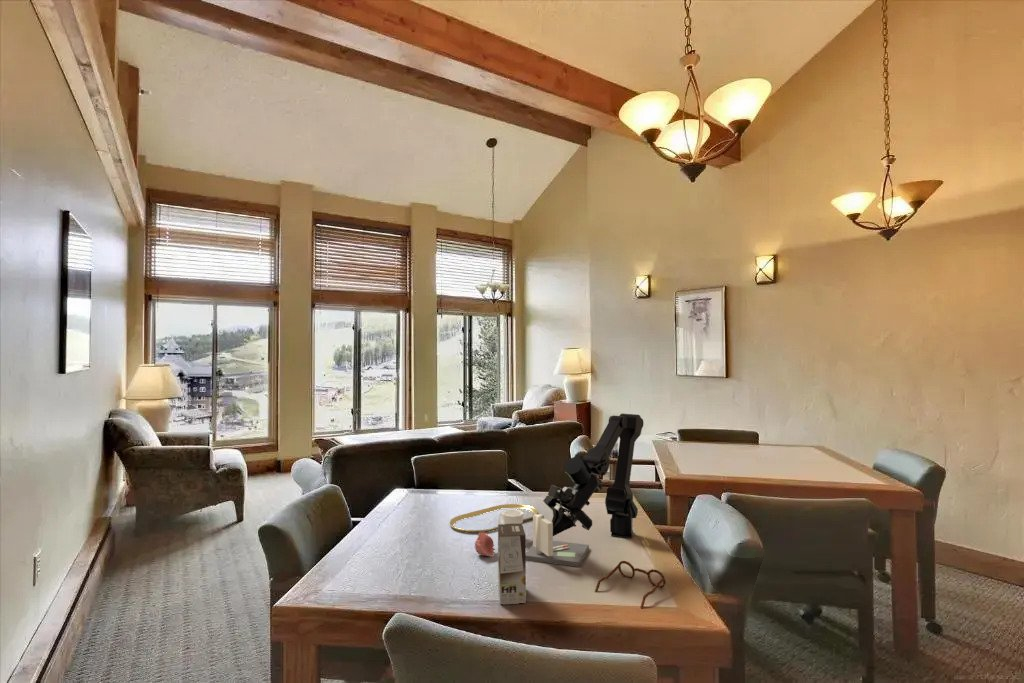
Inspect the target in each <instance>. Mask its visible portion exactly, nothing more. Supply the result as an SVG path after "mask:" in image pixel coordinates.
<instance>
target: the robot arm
mask: <svg viewBox="0 0 1024 683" xmlns="http://www.w3.org/2000/svg"><path fill="white" fill-rule="evenodd" d="M644 424H645V423H644V419H643V418H642V417H641V415H640V414H633V413H620V414H619V415H614V414H613V415H610V416H609V417H608V422H607V425H606V426H605V428H604V430H603V432H602V434H601V436H600V438H599V439H598V441H597V442H596V444H595V446H594V447H592V448H590V449H588V450H587V452H586V453H585V455H584V456H583V455H582V454H579V453H578V454H577V453H575V455H574V456H573V457H571V458H569V459H568V460H566V462H565V463H564V467H563V469H564V472H565V473H566V475H568V477H569V478H570V480H571V481H572V482H573V483H574V485H572V487H571V486H569V487H567V486H564V487H563V488H562V487H559V486H556V485H554V484H551V485H550V488H549V489H548V493H547V495H546V496H545V498H544V499H543V500H542V502H543V503H544V504H545V505H546V506H547V507H548V508H549V509H550V510H551V511H552V515H553V516H552V519H551V522H552V523H553V537H556V535H559V534H560V533H562V532H564V531H567V530H569V529H571V528H573V527H575V528H576V527H577V525H576V523H577V522H579V523H580V524H581V527H582V529H584V530H586V531H587V532H588V531H589V530H591V528H592V526H593V520H592V518H590V517H589V516H588V514H587V513H586V512H585V511H583V508H584V507H585V506H589V505H590V504H591V502H590V501H589V500H590V499H591V497H592V496H593V495H594V493H595V492H596V490H597V489H598V490H601V491H602V489H603V485H602V479H600V478H597V476H601V477H602V476H605V475H606V474H607V473H608V471H609V468H610V464H611V458H610V455H611V454H612V451H613V450H614V448H615V446H616V444H617V441H618V440H619V445H618V451H617V458H616V467H615V474H614V482H613V483H612V484H611V486H608V487H607V488H606V496H605V500H604V504H605V510H606V513H607V515H610V516H611V517H610V519H609V521H610V522H609V523H610V524H609V525H610V526H609V528H610V533H611V534H610V536H612V537H617V536H620V538H626V537H630V538H629V539H632V538H631V537H633V534H634V532H633V531H634V529H633V527H634V526H633V519H637V516H638V513H639V512H638V510H639V509H638V507H637V506H636V504H635V502H634V500H633V499H634V494H633V491H632V490H631V487H630V482H631V474H632V466H633V457H634V451H635V444H636V441H637V440H638V439H639V437H640V436H641V434H642V431H643V427H644ZM596 475H597V476H596Z"/></svg>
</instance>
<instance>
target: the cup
mask: <svg viewBox="0 0 1024 683" xmlns="http://www.w3.org/2000/svg"><path fill="white" fill-rule="evenodd" d="M524 515H525V513H524V512H523V511H522V510H520V509H506V510H504V511H503V512H501V513H500V514H499V516H498V525H499V524H502V521H503V524H520V523H522V524H523V522H524V521H523V519H524Z"/></svg>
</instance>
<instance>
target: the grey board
mask: <svg viewBox="0 0 1024 683" xmlns="http://www.w3.org/2000/svg"><path fill="white" fill-rule="evenodd" d="M566 544H567V545H568V547H564V548H558V549H553V556H547V555H546V554H544V553H543V554H538V553H536V547H534V546H533V544H532V545H531V546H530V547H529V549H528V550H527V551H526V561H533V562H538V563H539V562H540V563H547V564H555V565H561V566H562V565H564V566H571V567H579V568H580V566H581V564H582V562H583V560H584V559H585V556H586V555H587V553H588V551H589V550H590V548H589V546H590V544H585V543H578V542H567V541H559V540H553V547H557V546H562V545H566Z"/></svg>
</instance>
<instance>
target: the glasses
mask: <svg viewBox="0 0 1024 683" xmlns="http://www.w3.org/2000/svg"><path fill="white" fill-rule="evenodd" d="M622 564H625V565H628V567H629V568H630V569H631V571H632V572H631V574H632V575H630V576H629V575H626V574H625V573H624V571H622V569H621V568H622ZM616 571H618V572H619V573H620V575H621V576H622V577H623V578H626V579H629V580H631V579H634V577H635V575H636V572H638V573H642V574H645V575H647V579H648V582H649V584H650V585H652V586H653V587H652V589H651V590H650V591H647V592H646V593H645V594H644V595H642V596H643V597H642V600H641V604H640V607H639V609H640V608H641V609H643V608H644V606H645V602H646V599H647V597H649V596H650V595H653V594H654V593H655V591H657V589H663V588H665V586H666V583H667V581H666V578H665V575H664V574H663V572H661V571H660V570H657V569H653V568H652V569H649V570H648V571H647V570H646V569H642V568H638V567H634V566H633V564H632V563H630V562H629V561H626V560H621V561H619V563H618V564H617V565H616V566H615V567H614V568H613V569H612V570H611V571H610V572H609V573H608V575H606V576H603V577H601V578H600V579H599V580H597V584H596V586H595V589H594V593H595V594H596V593H597V592H599V588H600V586H601V583H602V582H603V581H605V580H608V579H610V577H611V576H612V575H613V574H615V572H616ZM652 573H656V574H658V575H659V576H660V577H661V578H660V579H659V581H658V582H657V583H656V584H655V583H654V582H653V580H652V579H651V574H652ZM654 586H655V587H654Z"/></svg>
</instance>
